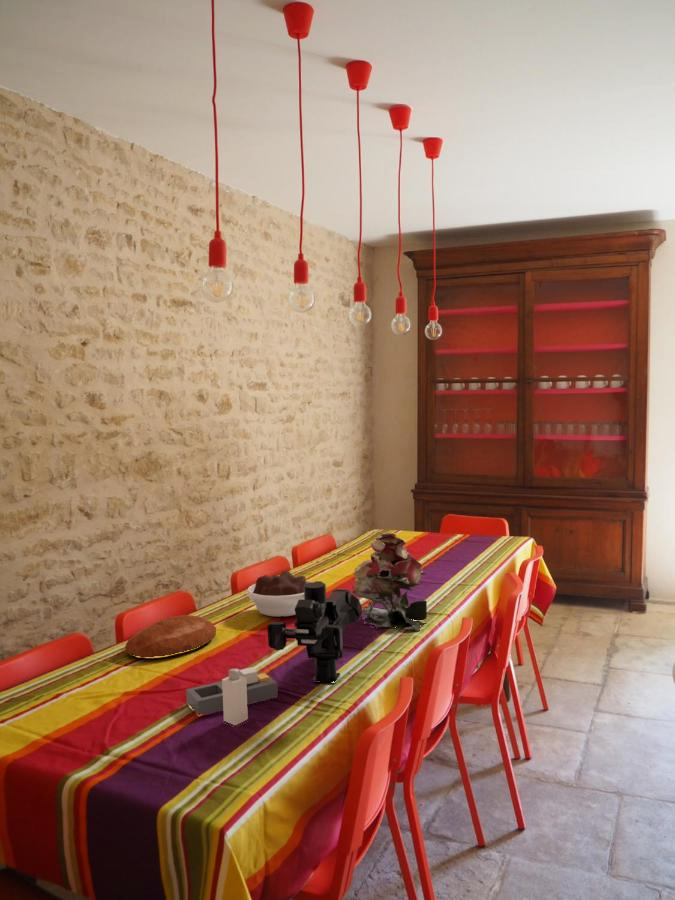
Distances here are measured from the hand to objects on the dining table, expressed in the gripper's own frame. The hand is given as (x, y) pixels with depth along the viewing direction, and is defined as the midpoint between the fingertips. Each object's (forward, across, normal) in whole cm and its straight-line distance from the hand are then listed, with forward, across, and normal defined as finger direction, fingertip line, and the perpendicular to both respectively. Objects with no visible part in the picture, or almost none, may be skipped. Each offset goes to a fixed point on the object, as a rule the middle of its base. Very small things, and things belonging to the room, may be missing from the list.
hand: (294, 649), depth 174 cm
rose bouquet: (-82, +6, +21) cm, 84 cm away
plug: (+6, -14, +16) cm, 22 cm away
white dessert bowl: (-82, -33, +21) cm, 91 cm away
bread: (-43, -56, +19) cm, 73 cm away
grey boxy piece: (-6, -19, +17) cm, 26 cm away
